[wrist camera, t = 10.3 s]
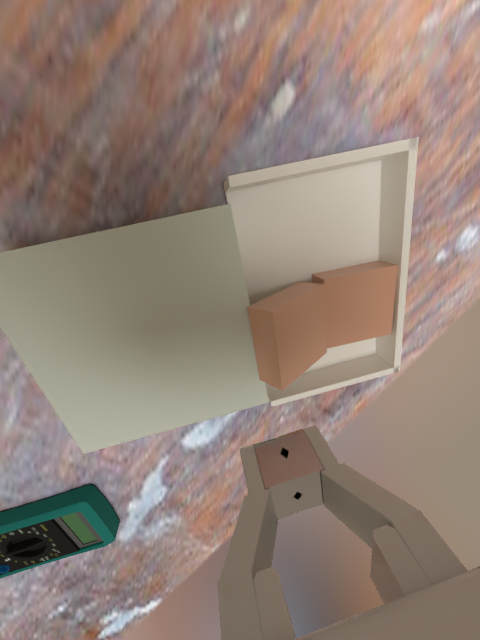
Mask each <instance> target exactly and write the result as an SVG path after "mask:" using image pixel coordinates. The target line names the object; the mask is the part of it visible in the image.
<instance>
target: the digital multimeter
mask: <svg viewBox="0 0 480 640" xmlns="http://www.w3.org/2000/svg"><path fill="white" fill-rule="evenodd" d="M119 523H120V522H119V519H118V517H117V515H116V513H115V512H114V510H113V508H112V506H111V505H110V503H109V502H108V501H107V499H106V498H105V497H104V496H103V495H102V493H101V492H100V491H99V490H98V489H97V488H96V487H95V486H94V485H87V486H83V487H80V488H76V489H73V490H70V491H67V492H65V493H62V494H59V495H56V496H53V497H49V498H46V499H43V500H39V501H36V502H33V503H30V504H26V505H23V506H20V507H16V508H12V509H9V510H5V511H1V512H0V578H3V577H6V576H9V575H12V574H15V573H18V572H21V571H24V570H27V569H30V568H33V567H36V566H39V565H43V564H46V563H49V562H53V561H56V560H59V559H63V558H66V557H69V556H73V555H76V554H80V553H83V552H87V551H90V550H94V549H97V548H101V547H104V546H106V545H108V544H110V543H112V542H113V541H114V540H115V538H116V534H117V530H118V527H119Z"/></svg>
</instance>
